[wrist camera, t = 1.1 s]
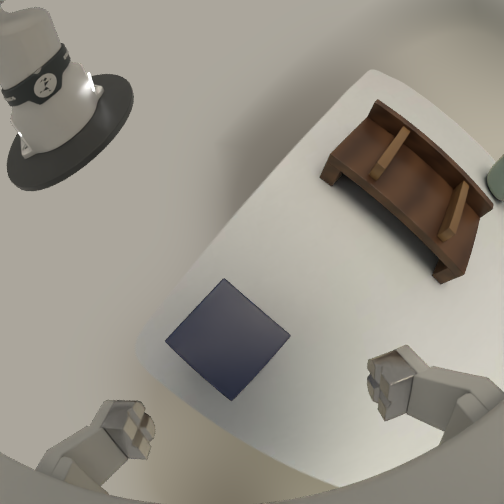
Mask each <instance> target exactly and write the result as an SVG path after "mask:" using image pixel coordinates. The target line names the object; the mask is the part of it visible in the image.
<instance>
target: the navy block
mask: <svg viewBox="0 0 504 504" xmlns="http://www.w3.org/2000/svg"><path fill="white" fill-rule="evenodd" d="M290 336H291V335H290V334H289V333H288V332H287V331H285V330H284V329H283V328H282V327H281V326H279V325H278V324H277V323H276V322H275V321H273V320H272V319H271V318H270V317H269V316H268V315H266V314H265V313H264V312H263V311H262V310H261V309H259V308H258V307H257V306H256V305H255V304H254V303H252V302H251V301H250V300H249V299H248V298H247V297H245V296H244V295H243V294H242V293H241V292H240V291H239V290H237V289H236V288H235V287H234V286H233V285H232V284H231V283H230V282H228V281H227V280H226V279H225V278H224V279H222V280H221V281H220V282H219V284H218V285H217V286H216V287H215V288H214V289H213V290H212V291H211V292H210V293H209V294H208V295H207V296H206V297H205V298H204V300H203V301H202V302H201V303H200V304H199V305H198V306H197V307H196V308H195V309H194V310H193V311H192V312H191V313H190V314H189V316H188V317H187V318H186V319H185V320H184V321H183V322H182V323H181V324H180V325H179V326H178V327H177V328H176V329H175V330H174V332H173V333H172V334H171V335H170V336H169V337H168V338H167V339H166V340H165V342H166V343H167V344H168V345H169V346H170V347H171V348H172V349H173V350H174V351H175V352H176V353H177V354H178V355H179V356H180V357H181V358H182V359H183V360H184V361H186V362H187V363H188V364H189V365H190V366H191V367H192V368H193V369H194V370H195V371H196V372H198V373H199V374H200V375H201V376H202V377H203V378H204V379H205V380H207V381H208V382H209V383H210V384H211V385H212V386H213V387H215V388H216V389H217V390H218V391H219V392H221V393H222V394H223V395H224V396H225V397H227V398H228V399H229V400H230V401H233V400H234V399H235V398H236V397H237V396H238V394H239V393H240V392H241V391H242V390H243V389H244V388H245V387H246V386H247V385H248V384H249V383H250V382H251V381H252V380H253V379H254V377H255V376H256V375H257V374H258V373H259V372H260V371H261V370H262V369H263V368H264V366H265V365H266V364H267V363H268V362H269V361H270V360H271V359H272V357H273V356H274V355H275V354H276V353H277V352H278V350H279V349H280V348H281V347H282V346H283V345H284V343H285V342H286V341H287V340H288V339H289V338H290Z"/></svg>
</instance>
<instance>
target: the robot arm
mask: <svg viewBox="0 0 504 504" xmlns="http://www.w3.org/2000/svg"><path fill="white" fill-rule="evenodd" d="M4 1H5V0H0V85H1V87H2V94H3V95H4V98H5V100H6V101H7V102H8V103H9V105H10V106H12V114H11V124H12V126H13V127H14V128H15V130H16V131H17V132H18V134H19V135H20V137H21V151H22V156H23V157H24V159H27V158H29V157H31V156H33V155H35V154H37V153H44V152H48V151H51V150H53V149H56V148H58V147H59V146H61V145H63V144H64V143H66V142H67V141H68V140H70V139H71V138H72V137H74V136H75V135H76V134H77V133H78V132H79V131H80V130H81V129H82V128H83V127H84V126H85V125H86V124H87V123H88V121H89V120H90V119H91V117H92V116H93V114H94V112H95V110H96V106H97V102H98V100H99V98H100V97H101V96H102V94H103V92H104V89H103V87H102V86H99V85H94V84H93V82H92V79H91V76H90V73H89V72H88V75H87V73H86V71H85V69H84V67H83V65H82V64H81V63H80V64H79V63H73V62H71V61H70V57H69V54H68V51H67V49H66V47H65V45H64V44H63V43H60V40H59V38H58V35H57V32H56V30H55V27H54V25H53V22H52V19H51V16H50V14H49V13H48V11H47V10H45V9H43V8H40V7H34V8H28V9H23V10H19V11H16V12H12V13H7V12H5V11H4V10H3V9H2V8H1V4H2V3H3V2H4ZM88 76H89V77H88ZM367 369H368V371H369V372H370V374H369V376H368V377H367V387H368V392H369V394H370V397H371V399H372V400H373V401H374V402H376V403H378V411H379V412H380V414H381V416H382V418H383V419H384V421H388V420H390V419H393V418H395V417H398V416H400V415H402V414H405V413H407V414H408V415H410V416H412V417H414V418H416V419H418V420H420V421H423V422H425V423H427V424H429V425H431V426H433V427H435V428H438V429H440V430H442V431H444V435H443V437H442V439H441V441H440V444H439V446H437V447H435V448H433V449H432V450H430V451H428V452H426V453H424V454H422V455H420V456H418V457H416V458H414V459H412V460H410V461H408V462H406V463H404V464H402V465H400V466H397V467H395V468H393V469H391V470H388V471H386V472H383V473H381V474H378V475H376V476H373V477H370V478H368V479H365V480H362V481H359V482H356V483H353V484H350V485H347V486H344V487H340V488H337V489H333V490H330V491H326V492H322V493H318V494H314V495H309V496H305V497H300V498H295V499H289V500H284V501H277V502H269V503H261V504H504V392H503V391H502V390H501V389H500V388H499V387H498V386H496V385H495V384H494V383H493V382H492V381H491V380H490V379H489V378H487V377H482V376H476V375H471V374H467V373H462V372H457V371H453V370H448V369H444V368H439V367H435V366H433V367H431V368H430V367H429V366H428V365H427V364H426V363H425V362H424V361H423V360H422V359H421V358H420V357H419V356H418V355H417V354H416V353H415V352H414V351H413V350H412V349H411V348H410V347H409V346H408V345H404V346H402V347H399V348H397V349H395V350H393V351H390V352H388V353H385V354H382V355H380V356H377V357H374V358H372V359H369V360H368V363H367ZM144 411H145V407H144V405H143V404H142V402H140V401H125V400H117V401H116V400H106V401H104V402H103V404H102V405H101V407H100V409H99V411H98V412H97V414H96V416H95V418H94V419H93V421H92V423H91V424H90V426H86V427H84V428H83V429H81V430H80V431H78V432H76V433H75V434H73V435H72V436H70V437H68V438H67V439H65V440H63V441H62V442H60V443H58V444H57V445H55V446H53V447H52V448H50V449H48V450H47V451H46V453H45V454H44V456H43V458H42V459H41V461H40V463H39V464H38V466H37V468H36V470H34V469H32V468H30V467H27V466H26V465H23V464H21V463H19V462H17V461H15V460H14V459H12V458H10V457H8V456H6V455H4V454H2V453H1V452H0V504H159V503H151V502H144V501H138V500H132V499H126V498H121V497H116V496H112V495H109V494H108V492H106V491H105V490H104V489H103V488H102V487H101V485H102V484H104V483H105V481H107V480H108V479H109V478H110V477H111V476H112V475H113V474H114V473H115V472H116V471H117V470H118V469H119V468H120V467H121V466H122V465H123V464H124V463H125V462H126V461H127V460H128V458H131V459H148V455H149V452H150V449H151V446H150V444H149V442H150V441H151V440H152V439H154V436H155V425H154V422H153V420H152V418H151V416H149V415H148V414H146V413H145V412H144Z"/></svg>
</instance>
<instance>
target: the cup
mask: <svg viewBox="0 0 504 504" xmlns="http://www.w3.org/2000/svg"><path fill="white" fill-rule="evenodd" d="M487 184H488V187H489V189H490V191H491V192H492V194H493V195H494V196H495V197H496V198H497V199H498V200H501V201H504V155H503V156H502V157H501V158H500V159H499V160H498V161H497V162H496V163H495V164H494V165H493V166H492V168H491V169H490V171H489V173H488V175H487Z"/></svg>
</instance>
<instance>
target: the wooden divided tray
mask: <svg viewBox="0 0 504 504" xmlns="http://www.w3.org/2000/svg"><path fill="white" fill-rule="evenodd" d="M342 174H345V175H346V176H347V177H349V178H350V179H351V180H353V181H354V182H355V183H356V184H358V185H359V186H360V187H361V188H363V189H364V190H365V191H366V192H368V193H369V194H370V195H371V196H372V197H374V198H375V199H376V200H377V201H378V202H380V203H381V204H382V205H383V206H384V207H385V208H387V209H388V210H389V211H390V212H391V213H392V214H393V215H395V216H396V217H397V218H398V219H399V220H400V221H401V222H402V223H403V224H404V225H406V226H407V227H408V228H409V229H410V230H411V231H412V232H413V233H414V234H415V235H416V236H417V237H418V238H419V239H420V240H421V241H422V242H423V243H424V244H425V245H426V246H427V247H428V248H429V249H430V250H431V251H432V252H433V253H434V254H435V255H436V256H437V257H438V258H439V260H438V263H437V265H436V268H435V270H434V272H433V274H432V276H433V277H434V278H435V279H436V280H437V281H438V282H439V283H440V284H443V283H445V282H447V281H450V280H452V279H455V278H457V277H460V276H462V275H464V274H465V271H466V268H467V265H468V262H469V258H470V255H471V252H472V248H473V245H474V241H475V237H476V233H477V229H478V225H479V220H480V218H481V217H482V216H483V215H485V214H486V213H488V212H489V211H491V210H492V209H493V203H492V202H491V200H490V199H489V198H488V197H487V196H486V194H485V193H484V192H483V191H482V190H481V189H480V188H479V186H478V185H477V184H476V183H475V182H474V181H473V180H472V179H471V178H470V177H469V176H468V175H467V173H466V172H465V171H464V170H463V169H462V168H461V167H460V166H459V165H458V164H457V163H456V162H455V161H454V160H453V159H452V158H450V157H449V156H448V155H447V154H446V153H445V152H444V151H443V150H442V149H441V148H440V147H439V146H437V145H436V144H435V143H434V142H433V141H432V140H431V139H429V138H428V137H427V136H426V135H425V134H424V133H422V132H421V131H420V130H419V129H417V128H416V127H415V126H414V125H412V124H411V123H410V122H409V121H407V120H406V119H405V118H403V117H402V116H401V115H399V114H398V113H397V112H395V111H394V110H393V109H391V108H390V107H388V106H387V105H385V104H384V103H383V102H381V101H380V100H377V101H375V103H374V105H373V107H372V109H371V111H370V113H369V115H368V117H367V118H366V119H365V120H364V121H363V122H362V123H361V124H360V125H359V126H358V127H357V128H356V129H355V130H354V131H353V132H352V133H351V134H350V135H349V136H348V137H347V138H346V139H345V140H344V141H343V142H342V143H341V144H340V145H339V146H338V147H337V148H336V149H335V150H334V151H333V152H332V153H331V154H330V156H329V158H328V160H327V162H326V164H325V167H324V169H323V171H322V173H321V175H320V178H321V179H322V180H324V181H325V182H326V183H328V184H329V185H330V186H333V185H334V184H335V182H336V181H337V180H338V179H339V178H340V177H341V176H342Z"/></svg>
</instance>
